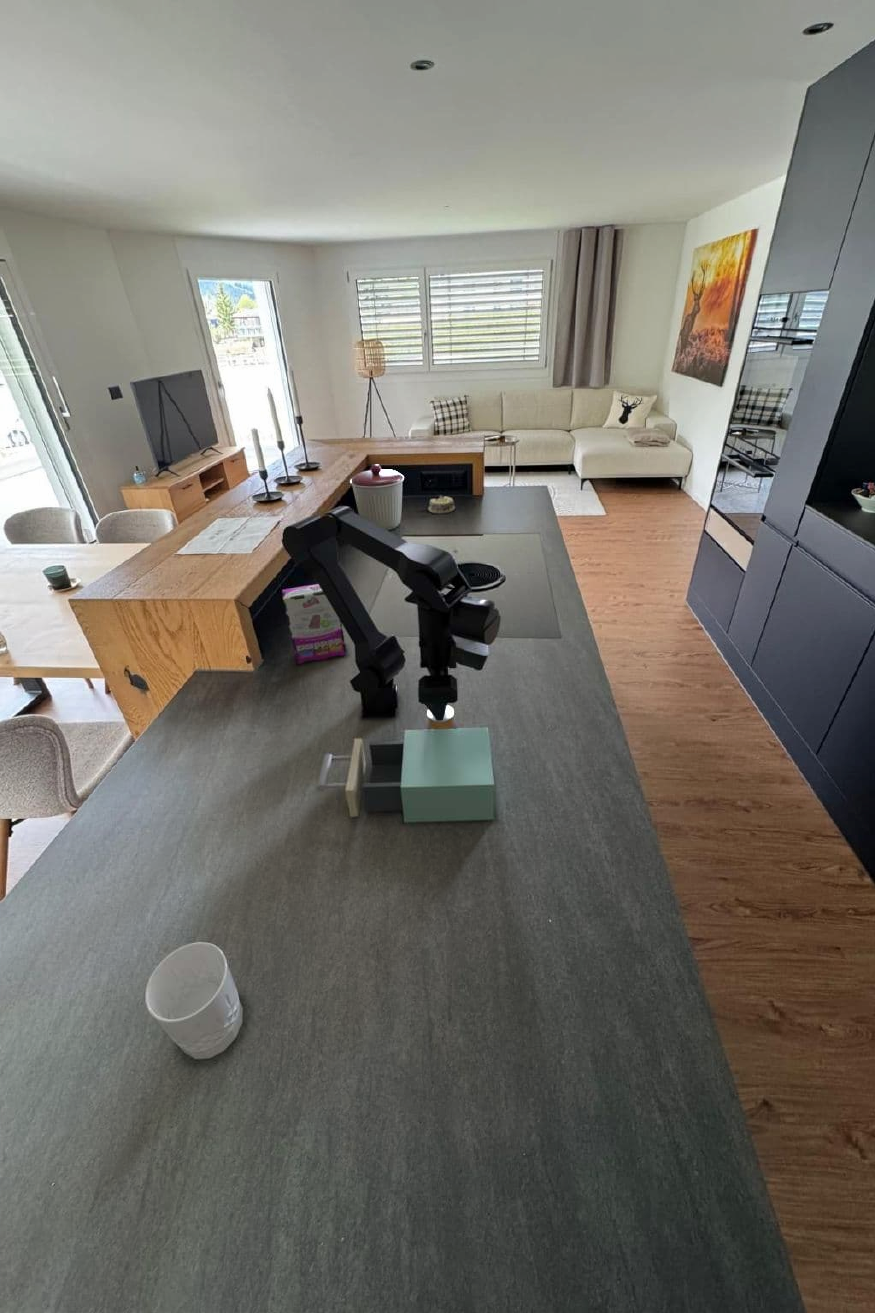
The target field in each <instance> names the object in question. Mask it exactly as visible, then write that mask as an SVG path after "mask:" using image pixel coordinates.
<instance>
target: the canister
mask: <svg viewBox="0 0 875 1313" xmlns="http://www.w3.org/2000/svg"><path fill="white" fill-rule="evenodd" d="M404 480H405V476H404V475H403V474H401V473H400V472H398V471H396V470H393V469H382V466H381V465H380V464H378V463H377V464H372V465H371V466H370V469H369V470H365V471H361V472H359V473H357V474H355V475H354V476H353V477H351V478H350V479H349V484H350V485H351V486H352V491H353V496H354V499H355V504H356V508H357V512H358V515H359V516H361V517H363V518H365V519H367V520H369V521H370V522H372V523H374V524H376V525H378V526H380V527H381V528H383V529H385V530H387V531H391V530H394V529H396V528H397V527H398V526H399V525H400V523H401V521H402V520H401V519H402V508H403V482H404Z"/></svg>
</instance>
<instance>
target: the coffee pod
mask: <svg viewBox="0 0 875 1313" xmlns="http://www.w3.org/2000/svg"><path fill="white" fill-rule="evenodd" d="M426 716H427V718H428V730H429V729H454V716H455V710H454V708H453V707H452V706H450V705H448V704H447V707H446V710H445V714H444V718H443V720H442V721H437V720H436V719H435V717H434V716H433V715H432V713H431V712H430V710H429V709H428V708H427V711H426Z"/></svg>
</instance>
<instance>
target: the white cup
mask: <svg viewBox="0 0 875 1313" xmlns="http://www.w3.org/2000/svg"><path fill="white" fill-rule="evenodd" d="M144 993H145V994H144V1001H145V1006H146V1010H147V1011H148V1014H150V1015H151V1017H152V1018H153V1019H154V1020H155V1021H156V1023H158V1025H159V1026H160V1027H161V1029H162V1030H163V1031H164V1032H165V1033H166V1035H167V1036H168V1037H169V1038H170V1039H171V1040H172V1041H173V1043H175V1044H176V1045H177V1046H178V1047H179V1048H180V1049H181V1050H182V1051H183V1053H184V1054H186V1055H188V1056H189V1057H191V1058H193V1060H207V1059H208V1060H209V1059H212V1058H213V1057H215V1056H217V1055H219V1054H221V1053H223V1052H225V1050H227V1048H228V1047H229V1046H231V1044H232V1043H233V1042H234V1041H235V1039H236V1038H237V1037H238V1034H239V1032H240V1030H241V1028H242V1025H243V1017H244V1012H243V1011H244V1009H243V1006H242V1003H241V1001H240V996H239V991H238V989H237V986H236V982H235V979H234V977H233V973H232V972H231V969H230V966H229V963H228V960H227V958H226V956H225V953H224V952H223V950H221V949H220V947H218V946H217V945H215V944H213V943H210V942H205V941H198V942H192V943H191V942H190V943H188V944H185V945H183V946H180V947H178V948H177V949H175V950H173V951H172V952H171V953H169V954H167V956H166V957H164V958H163V959H162V960H161V961H160V962H159V963H158V964H157V966H156V967H155V969H154V970H153V972H152V973H151V975H150V977H149V979H148V982H147V984H146V988H145V992H144Z"/></svg>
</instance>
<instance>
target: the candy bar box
mask: <svg viewBox="0 0 875 1313" xmlns="http://www.w3.org/2000/svg"><path fill="white" fill-rule="evenodd" d="M282 602H283V607H284V610H285V614H286V615H285V616H286V619H287V624H288V628H289V632H290V636H291V640H292V645H293V649H294V654H295V659H296V662H297V663H296V664H298V665H301V664H308V663H312V662H318V661H323V660H328V659H333V658H337V657H338V658H339V657H343V656H347V654H348V653H347V652H348V651H347V646H346V640H345V635H344V629H343V628H344V627H343V624H342V623H341V621H340V619H339V618H338V616H337V614H336V613H335V611H334V609H333V608H332V606H331V604H330V603H329V601H328V599H327V598H326V596H325V594H324V593H323V591H322V589H321V588H320V586H319V584H318V583H316V584H310V585H304V586H303V585H302V586H297V587H292V588H286V589H282Z"/></svg>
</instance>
